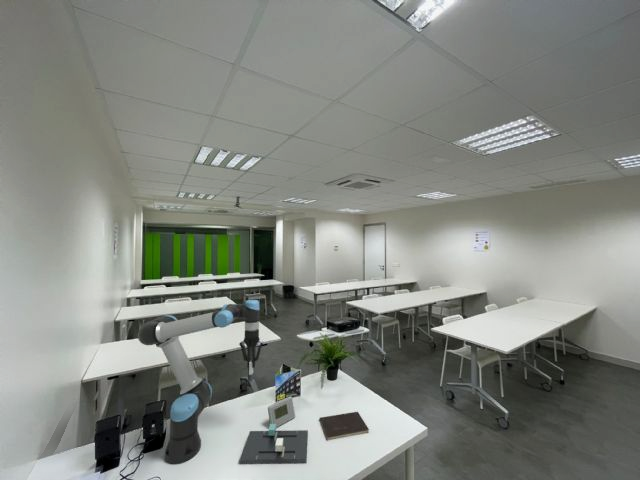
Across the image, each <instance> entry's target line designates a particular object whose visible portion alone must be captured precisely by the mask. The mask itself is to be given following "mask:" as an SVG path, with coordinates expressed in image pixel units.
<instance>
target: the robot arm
mask: <svg viewBox="0 0 640 480" xmlns="http://www.w3.org/2000/svg"><path fill="white" fill-rule="evenodd" d="M244 302H245V303H242V304H241V303H240V304H239V303H238V304H236V303H234V304H233V303H228V304H227V303H226V304H224V305H222V307H221V310H217V311H213V312H209V313H204V314H199V315H195V316H191V317H186V318H182V319H178V318H176V316H174V315H170V314H165V315H161V316H158V317H156V318H155V319H152V320H149V321H147V322H145V323H143V324H142V325H141V327H140V328H139V329H138V331H137V332H138V333H137V339H138V341H139V343H140V344H141V345H145V346H156V348H160V349H161V350H162V352H163V354H164V356H165V358H166V360H167V362H168V364H169V366H170V369H171V371H172V372H173V374H174V377H175V379H176V380H177V383H178V384H179V386H180V391H179V394H180V395H179V396H178V398H176V399H175V400H174V401H173V402H172V404H171V407H170V412H169V416H170V417H169V418H170V419H169V439H168V442H167V444H166V448H165V450H164V460H165V461H166V463H168V464H170V465H171V464H172V465H177V464H179V465H180V464H183V463H185V462H188V461H189V460H191V459H193V458H194V457H195V456H196V455H197V454H198V453H199V452H200V450H201V447H202V438H201V437H200V433H199V430H198V423H199V422H198V419H199V417H200V415H201V413H202V412H203V410H204V409H205V408H206V407H207V405H208V404H209V402H210V401H211V399H212V395H213V388H212V386H211V385H210V383H209V382H207V381H204V380H203V378H202V377H198V375H197V373H196V371H195V369H194V367H193V365H192V363H191V361H190V358H189V357H188V354H187V353H186V351H185V348H184V347H183V344H182V343H181V341H180V339H179V337H181V336H185V335H190V334H194V333H199V332H202V331H208V330H211V329H215V328H220V329H221V328H225V327H227V326H230V325H231V324H232V323H233V322H234V321H235V320H237V319H244V337H243V340H242V341H240V342H239V347H240V348H241V353H242V357H243V361H245V362H246V363H247V366H246V367H247V368H248V369H249V370H248V375H249V376H252V375H253V374H254V368H255V366H256V362H258V360H259V358H260V355H261V351H262V346H263V345H264V342H265V341H262V340H261V339H260V329H259V328H260V301H259V300H257V299H248V300H245V301H244ZM257 345H258V349H257V352H256V346H257ZM246 348H247V349H246Z"/></svg>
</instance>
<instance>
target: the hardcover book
mask: <svg viewBox="0 0 640 480" xmlns="http://www.w3.org/2000/svg"><path fill="white" fill-rule="evenodd" d="M318 420H319V421H320V424H321V427H322V430H323V433H324V435H325V438H326V440H327V441H330V440H331V441H332V440H336V439H341V438H346V437H347V438H348V437H353V436H357V435H362V434H368V433H369V431H370V429H369V427H368V426H367V424H366V422H365V421H364V419H363V417H362V416H361V415H360V413H359V411H353V412H348V413H341V414H340V413H339V414H335V415H328V416H321V417H319V419H318Z"/></svg>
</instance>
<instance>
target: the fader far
mask: <svg viewBox="0 0 640 480" xmlns="http://www.w3.org/2000/svg"><path fill="white" fill-rule="evenodd" d="M267 431H268V435H271V436H273V435H275V431H277V427H276V424H270V423H269V427H268V430H267Z"/></svg>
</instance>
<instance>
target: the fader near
mask: <svg viewBox="0 0 640 480" xmlns="http://www.w3.org/2000/svg"><path fill="white" fill-rule="evenodd" d="M282 448H283V438H277V440H276V445H275V451H278V452H281V451H282Z"/></svg>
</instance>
